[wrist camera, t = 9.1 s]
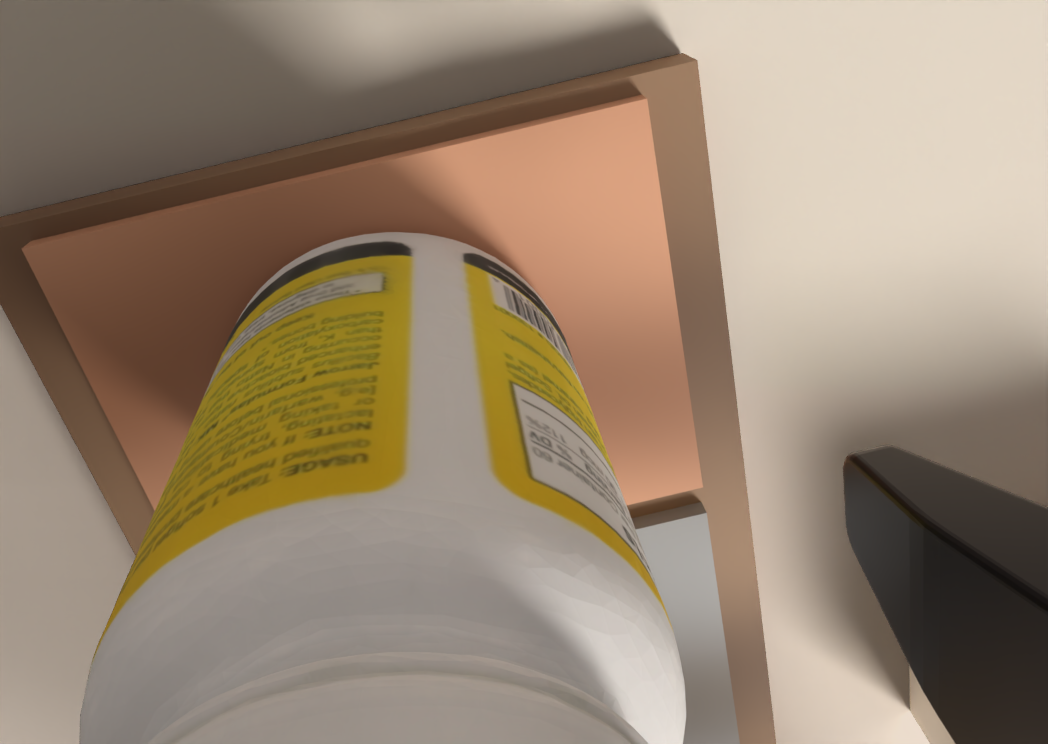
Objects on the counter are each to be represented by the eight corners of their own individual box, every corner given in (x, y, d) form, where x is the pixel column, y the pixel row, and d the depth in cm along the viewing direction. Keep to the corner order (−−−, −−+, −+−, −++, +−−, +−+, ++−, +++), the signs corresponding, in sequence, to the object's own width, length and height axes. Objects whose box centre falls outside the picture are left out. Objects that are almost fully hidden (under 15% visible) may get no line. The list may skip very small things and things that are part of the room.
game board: (787, 909, 21) (803, 953, 20) (393, 1000, 21) (392, 1048, 20) (682, 52, 12) (703, 63, 11) (-12, 219, 12) (-47, 243, 11)
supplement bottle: (206, 495, 13) (-85, 1293, 5) (252, 184, 11) (-104, 762, 3) (522, 544, 14) (644, 1270, 6) (616, 268, 12) (949, 854, 4)
